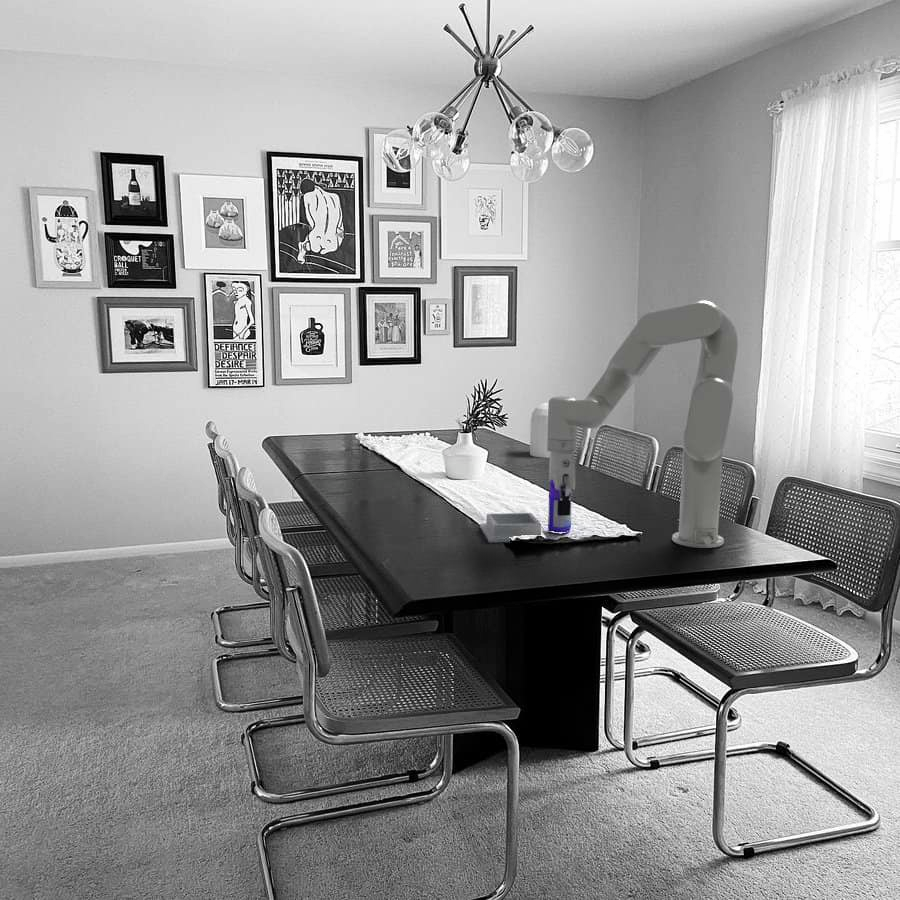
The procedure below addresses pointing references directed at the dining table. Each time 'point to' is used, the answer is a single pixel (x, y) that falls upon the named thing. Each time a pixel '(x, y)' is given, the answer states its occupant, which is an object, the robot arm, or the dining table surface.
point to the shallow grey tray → (509, 526)
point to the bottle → (554, 520)
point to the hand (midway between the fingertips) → (559, 510)
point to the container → (539, 432)
